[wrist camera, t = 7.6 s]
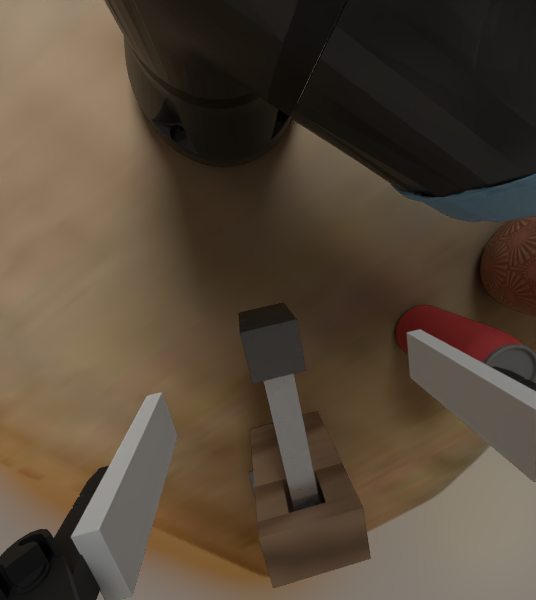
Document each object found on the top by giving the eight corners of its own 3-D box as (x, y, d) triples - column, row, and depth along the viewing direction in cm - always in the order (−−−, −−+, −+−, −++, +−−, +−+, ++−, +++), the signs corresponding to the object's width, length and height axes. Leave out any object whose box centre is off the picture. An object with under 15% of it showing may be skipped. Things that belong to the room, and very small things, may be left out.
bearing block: (249, 429, 35) (258, 538, 22) (317, 411, 36) (363, 507, 23) (259, 466, 36) (273, 588, 24) (324, 448, 37) (370, 558, 25)
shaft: (238, 312, 24) (239, 332, 19) (283, 302, 24) (296, 319, 19) (287, 514, 29) (298, 569, 24) (323, 503, 30) (341, 556, 25)
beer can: (410, 362, 36) (495, 424, 24) (383, 327, 34) (460, 375, 22) (450, 330, 35) (557, 377, 24) (425, 292, 34) (526, 323, 22)
